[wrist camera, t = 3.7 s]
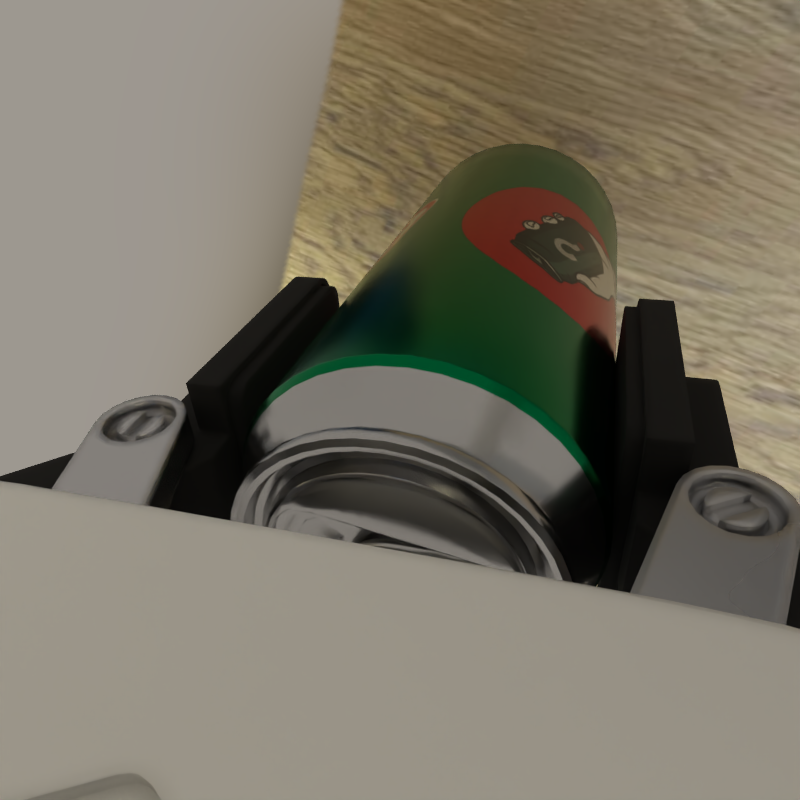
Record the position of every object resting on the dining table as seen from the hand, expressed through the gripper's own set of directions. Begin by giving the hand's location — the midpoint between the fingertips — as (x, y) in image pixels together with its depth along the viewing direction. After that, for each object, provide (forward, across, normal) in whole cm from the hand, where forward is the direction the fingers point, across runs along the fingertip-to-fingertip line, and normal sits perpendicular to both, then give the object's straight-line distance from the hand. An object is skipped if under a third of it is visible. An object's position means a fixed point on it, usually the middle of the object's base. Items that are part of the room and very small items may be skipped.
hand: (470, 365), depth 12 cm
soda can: (+7, 0, 0) cm, 7 cm away
